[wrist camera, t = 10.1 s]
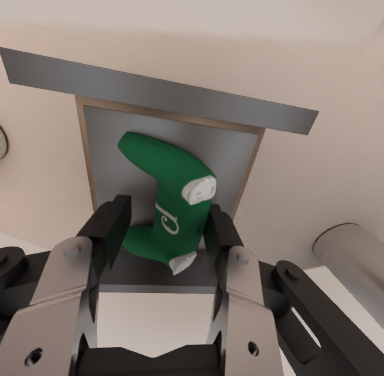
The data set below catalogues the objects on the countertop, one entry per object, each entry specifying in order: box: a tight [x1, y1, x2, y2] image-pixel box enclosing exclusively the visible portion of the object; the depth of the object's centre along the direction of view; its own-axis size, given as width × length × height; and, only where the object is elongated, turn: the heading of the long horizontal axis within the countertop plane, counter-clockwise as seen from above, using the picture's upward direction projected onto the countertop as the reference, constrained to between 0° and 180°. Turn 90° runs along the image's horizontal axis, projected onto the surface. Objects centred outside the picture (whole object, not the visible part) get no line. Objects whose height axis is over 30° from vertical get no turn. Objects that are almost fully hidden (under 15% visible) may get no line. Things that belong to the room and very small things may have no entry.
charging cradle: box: [0, 47, 319, 294], centre depth 14 cm, size 12×14×12 cm
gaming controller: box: [117, 131, 216, 275], centre depth 11 cm, size 9×4×6 cm
